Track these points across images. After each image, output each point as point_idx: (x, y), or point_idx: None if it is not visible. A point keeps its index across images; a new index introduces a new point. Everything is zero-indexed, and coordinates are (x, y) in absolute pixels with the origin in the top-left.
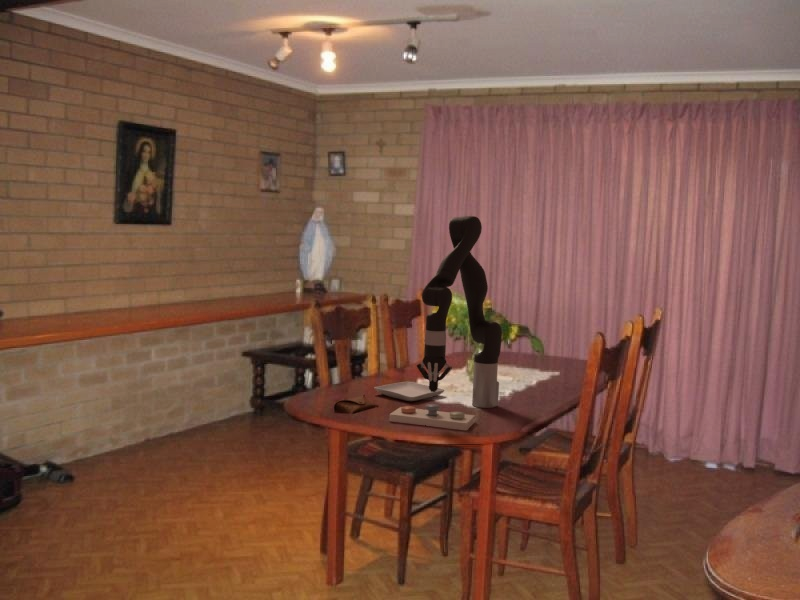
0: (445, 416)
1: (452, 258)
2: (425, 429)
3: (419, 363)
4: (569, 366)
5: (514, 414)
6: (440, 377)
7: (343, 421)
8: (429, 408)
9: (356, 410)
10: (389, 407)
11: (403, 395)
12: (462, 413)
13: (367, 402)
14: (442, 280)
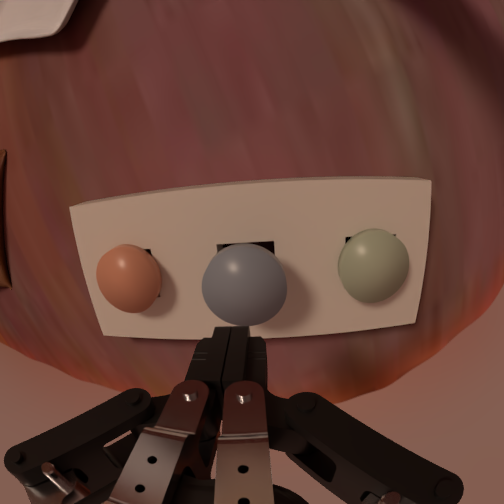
0: (315, 268)
1: None
2: (267, 362)
3: (7, 469)
4: None
5: (475, 19)
6: (308, 457)
7: (48, 360)
8: (241, 322)
9: (3, 267)
10: (29, 142)
11: (29, 38)
12: (399, 256)
13: None
14: None
